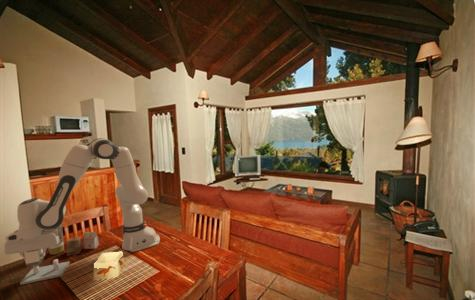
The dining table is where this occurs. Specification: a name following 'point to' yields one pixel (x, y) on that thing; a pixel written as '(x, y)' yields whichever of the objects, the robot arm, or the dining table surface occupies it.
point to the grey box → (90, 240)
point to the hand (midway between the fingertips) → (34, 257)
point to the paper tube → (60, 246)
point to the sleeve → (33, 257)
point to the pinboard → (45, 272)
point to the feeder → (74, 246)
